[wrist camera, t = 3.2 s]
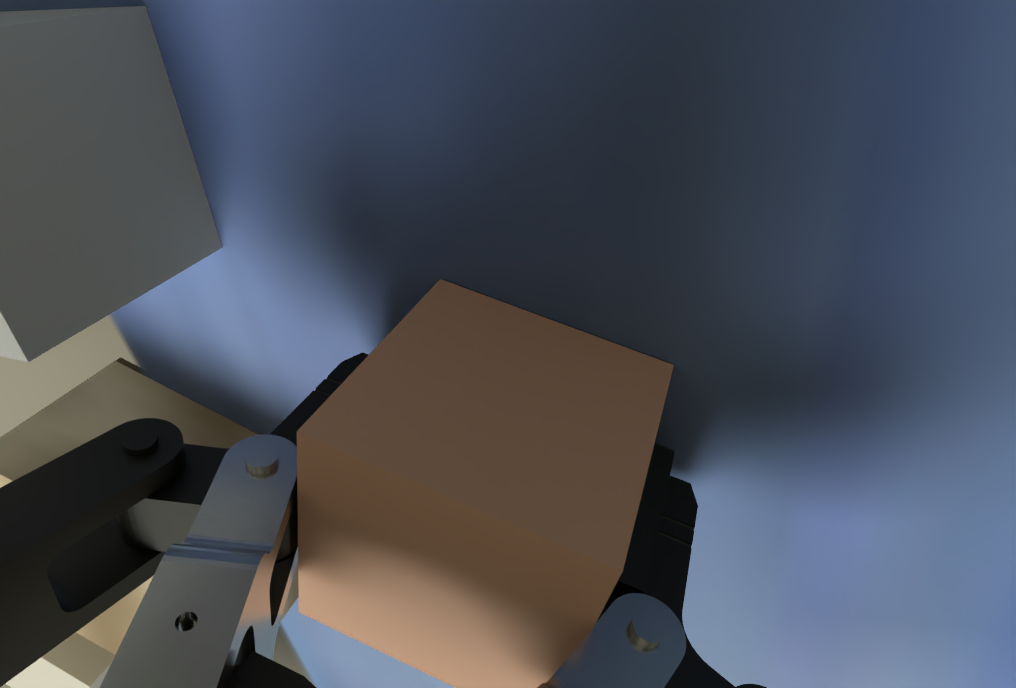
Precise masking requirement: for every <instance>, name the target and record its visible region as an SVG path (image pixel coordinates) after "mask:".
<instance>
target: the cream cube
mask: <svg viewBox="0 0 1016 688" xmlns="http://www.w3.org/2000/svg"><path fill="white" fill-rule="evenodd" d="M114 657H115V655H114V654H113V653H111V652H109V651H107V650H106V649H104V648H102V647H100V646H99V645H97V644H95V643H93V642H92V641H90V640H88V639H86V638H84V637H83V636H81V635H79V634H77V633H76V632H75V633H74V634H73V635H71V636H70V637H69V638H67V639H66V640H64V641H63V642H62V643H60V644H59V645H58V646H56V647H55V648H53V649H52V650H51V651H49V652H48V653H47V654H45V655H44V656H42V657H41V658H40V659H38V660H37V661H36V662H34V663H33V664H31V665H30V666H29V667H27V668H26V669H25V670H23V671H22V672H20V673H19V674H18V675H16V676H15V677H14V678H12V679H11V680H9V681H8V682H7V683H5V684H7V685H9V686H10V687H12V688H100V686H101V684H102V682H103V680H104V677H105V675H106V673H107V671H108V669H109V667H110V665H111V663H112V661H113V659H114Z"/></svg>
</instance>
